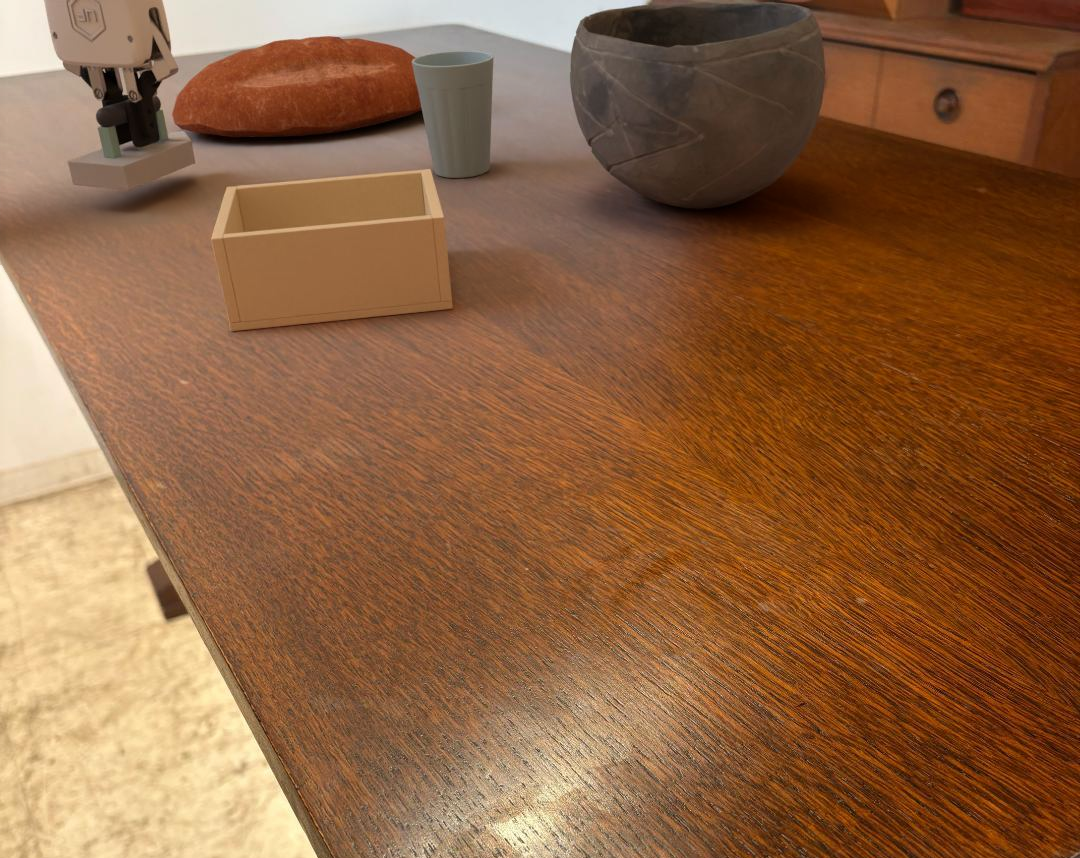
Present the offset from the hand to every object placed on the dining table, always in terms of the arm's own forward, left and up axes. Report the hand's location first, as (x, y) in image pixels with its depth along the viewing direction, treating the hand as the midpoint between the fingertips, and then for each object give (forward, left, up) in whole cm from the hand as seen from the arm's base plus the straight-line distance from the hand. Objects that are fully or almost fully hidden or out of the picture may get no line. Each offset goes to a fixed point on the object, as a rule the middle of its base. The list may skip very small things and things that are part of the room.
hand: (136, 141), depth 103 cm
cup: (+31, -2, -5) cm, 31 cm away
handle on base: (0, +1, -3) cm, 3 cm away
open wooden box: (+19, -32, -5) cm, 37 cm away
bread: (+16, +26, -5) cm, 31 cm away
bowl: (+50, -18, -5) cm, 53 cm away
